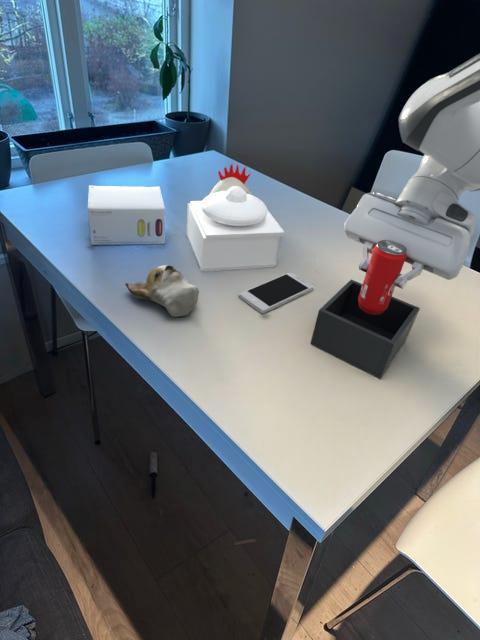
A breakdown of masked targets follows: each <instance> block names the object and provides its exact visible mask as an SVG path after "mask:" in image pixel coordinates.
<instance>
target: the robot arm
mask: <svg viewBox="0 0 480 640" xmlns="http://www.w3.org/2000/svg"><path fill="white" fill-rule="evenodd" d="M398 128H399V135H400V138H401V142H402V143H403V144H405V145H407V146H409V147H410V148H412V149H414V150H416V151H417V152H420V153H422V154H423V155H422V158H421V160H420V162H419V166H418V169H417V170H416V172H415V173H414V174H413V175H411V176H410V178H409V179H408V181H407V182H406V184H405V185H404V187H403V189H402V190H401V192H400V193H399V195H398V197H394V196H391V195H388V194H383V193H382V192H380V191H373V192H367V193H364V194H363V195H362V196H361V198H360V200H359V201H358V203H357V205H356V207H355V208H354V209H353V210H352V212H351V213H350V214H349V216H348V217H347V219H346V220H345V222H344V223H343V231H344V234H345V235H346V237H347V239H350V240H352V241H355V242H357V243H359V244H362V245H363V246H362V260H360V261H361V262H359V265H358V270H359V271H362V272H364V273H366V272H367V269H368V266H369V262H370V259H369V258H370V256H369V255H370V254H371V255H372V253H373V250H374V247H375V246H376V245H377V243H378V242H379V241H381V240H391V241H395V242H398V243H400V244H402V245H404V246H405V247H406V249H407V252H406V254H407V256H406V259H405V262H404V263H407V264H410V265H411V270H410V271H408V272H406V273H404V274H402V273H400V274H399V275H398V277H397V279H395V281H394V284H395V287H397V288H399V289H402V290H403V289H404V288H405V287H406V285H407V283H408V282H410V281H412V280H413V279H415V278H417V277H418V276H420V275H421V274H422V272H423V270H424V271H425V272H429V273H431V274H433V275H435V276H438V277H440V278H443V279H445V280H448V281H451V280H453V279H455V278H457V277H458V276H459V274H460V273H461V271H462V269H463V266H464V264H465V263H466V259H467V257H468V254H469V249H470V245H471V244H470V243H471V239H472V237H473V236H474V233H475V230H476V223H477V222H476V215H475V213H473V212H472V211H471V210H468V209H467V208H466V207H465V206H463V205H462V204H460V202H459V200H460V199H461V196H462V195H463V193H464V192H465V191H469V192H479V191H480V53H478V54H476V55H475V56H472V57H471V58H470V59H468V60H466V61H465V62H463V63H462V64H460V65H458V66H457V67H455V68H453V69H452V70H449V71H448V72H445V73H442V74H440V75H437V76H434V77H432V78H430V79H428V80H427V81H425V83H423V84H422V85H420V87H418V88H417V89H416V90H415V91H414V92H413V93H412V94H411V96H410V97H409V98H408V100H407V101H406V103H405V105H404V106H403V108H402V109H401V112H400V114H399V116H398Z"/></svg>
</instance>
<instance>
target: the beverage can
mask: <svg viewBox="0 0 480 640" xmlns="http://www.w3.org/2000/svg"><path fill="white" fill-rule="evenodd" d="M406 252H407V249H406V247H405V246H404V245H402V244H400V243H398V242H395V241H391V240H381V241H379V242H378V243H377V245H376V246H375V247H374V250H373V253H372V254H371V255H370V256H371V257H370V259H369V260H370V262H369V266H368V269H367V272H365V275H364V278H363V282H362V284H363V285H362V288H361V291H360V294H359V297H358V302H359V307H360V309H361V310H362V311H364V312H365V313H368V314H371V315H380V314H382V313H383V312H384V311H385V310H386V309H387V308H388V305H389V302H390V300H391V297H393V294H394V293H395V292H394V291H395V288H396V286H395V284H394V281H395V279H397V277H398V275H399V274H402V273H401V272H402V269H403V267H404V264H405V263H406V262H405V259H406V256H407V254H406Z"/></svg>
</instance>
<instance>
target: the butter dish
mask: <svg viewBox="0 0 480 640" xmlns="http://www.w3.org/2000/svg"><path fill="white" fill-rule="evenodd" d="M186 206H187V210H186V236H187V239H188V241H189V244H190V246H191V248H192V251H193V254H194V256H195V259H196V262H197V264H198V266H199V269H200V271H201V272H216V271H219V272H220V271H233V270H234V271H235V270H251V269H265V268H267V269H269V268H276V267H277V264H278V257H279V251H280V246H281V241H282V236H285V231H284V230H283V228H282V226H281V225H280V224H279V223H278V222H277V220H276V219H275V217H274V216H273V215H272V213H271V212H270V211H269V210H268V207H267V205H266V204H265V202H264V201H263V200H261V199H260V198H259V197H256V196H255V195H253V194H252V195H250V194H247V193H246V192H245V191H244V190H243V189H242V188H240V187H231V188H230V189H229V190H227V191H221V192H216V193H213V194H210V193H209V194H208V195H206V197H204V198H203V199H202V200H190V201H189V202H188V203H187V205H186Z"/></svg>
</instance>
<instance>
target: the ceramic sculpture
mask: <svg viewBox="0 0 480 640" xmlns="http://www.w3.org/2000/svg"><path fill="white" fill-rule="evenodd" d="M124 285H125V287H126V288H127V290H128V291H129V293H130V294H131V295H133V296H134V297H136V298H137V299H142V300H148V301H153V302H155V303H157V304H158V305H160V306H163V307H165V308H166V310H167V313H169V315H170V316H172V317H174V318H178V317H184V316H187V315H188V314H190V312H192V311H193V310H194V309H195V307H196V306H197V304H198V301H199V295H200V290H199V289H198V287H197V286H196V285H195V284H191V283H189V281H188V280H187V279H186V277H185V276H184V274H182V273H181V271H180V270H179V269H177V268H175V267H174V266H173V265H169V264H168V265H167V264H164V265H160V266H156V267H154V268H153V269H152V270H150V271H149V272H148V274H147V277H146V281H145V282H135V283H127V282H124Z"/></svg>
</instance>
